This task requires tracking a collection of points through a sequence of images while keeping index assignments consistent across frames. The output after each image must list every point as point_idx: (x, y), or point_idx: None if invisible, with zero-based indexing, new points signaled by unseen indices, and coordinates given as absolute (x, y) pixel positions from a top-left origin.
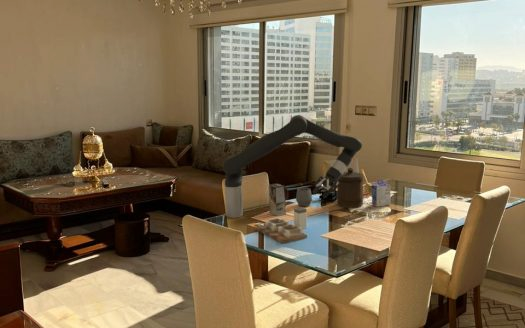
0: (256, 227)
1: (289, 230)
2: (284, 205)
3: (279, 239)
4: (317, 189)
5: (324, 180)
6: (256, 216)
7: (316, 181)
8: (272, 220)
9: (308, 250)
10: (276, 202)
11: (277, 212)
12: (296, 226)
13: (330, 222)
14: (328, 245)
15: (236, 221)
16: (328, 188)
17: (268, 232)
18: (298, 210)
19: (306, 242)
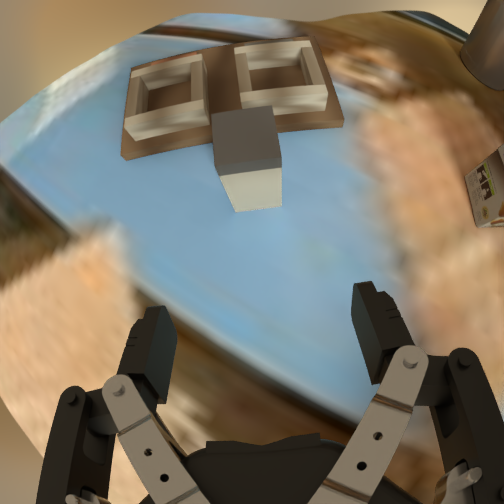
0: (313, 37)
1: (136, 78)
2: (501, 205)
3: (146, 63)
4: (371, 355)
5: (311, 500)
6: (472, 111)
7: (491, 395)
8: (305, 62)
9: (50, 130)
10: (500, 147)
11: (473, 174)
12: (158, 112)
13: (256, 377)
14: (37, 202)
15: (426, 42)
16: (113, 398)
17: (231, 47)
18: (217, 113)
19: (94, 144)
